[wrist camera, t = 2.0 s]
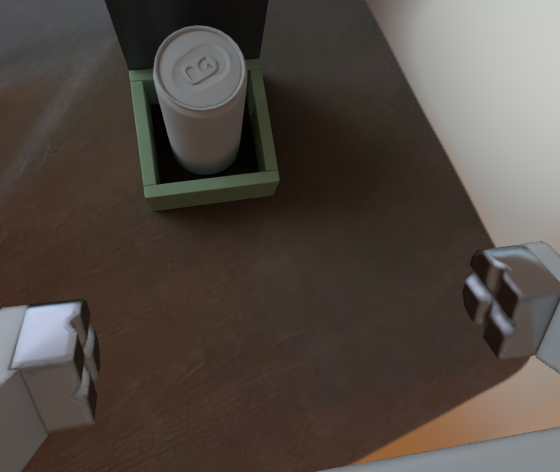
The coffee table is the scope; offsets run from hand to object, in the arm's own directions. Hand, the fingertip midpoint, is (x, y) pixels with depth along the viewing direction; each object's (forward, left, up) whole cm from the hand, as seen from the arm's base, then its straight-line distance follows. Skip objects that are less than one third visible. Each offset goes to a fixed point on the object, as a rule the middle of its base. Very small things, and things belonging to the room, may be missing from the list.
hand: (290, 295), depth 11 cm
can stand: (+9, -9, -26) cm, 29 cm away
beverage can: (+9, -9, -26) cm, 29 cm away
